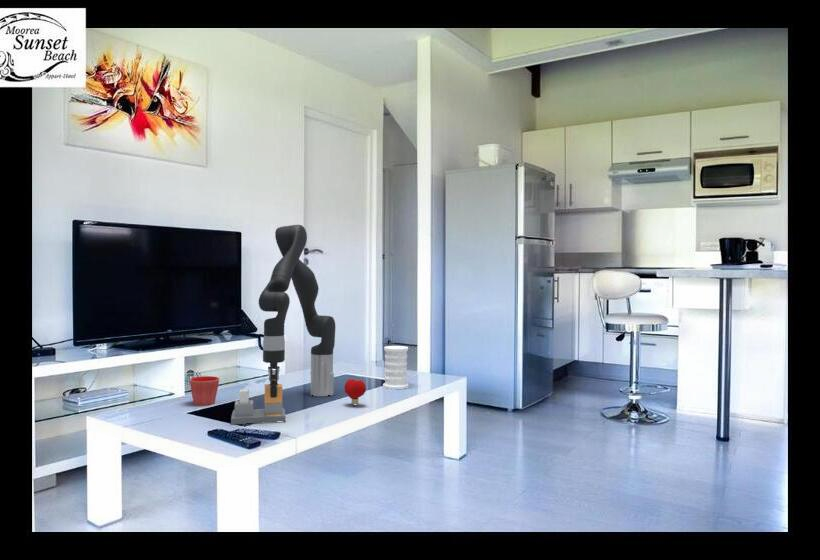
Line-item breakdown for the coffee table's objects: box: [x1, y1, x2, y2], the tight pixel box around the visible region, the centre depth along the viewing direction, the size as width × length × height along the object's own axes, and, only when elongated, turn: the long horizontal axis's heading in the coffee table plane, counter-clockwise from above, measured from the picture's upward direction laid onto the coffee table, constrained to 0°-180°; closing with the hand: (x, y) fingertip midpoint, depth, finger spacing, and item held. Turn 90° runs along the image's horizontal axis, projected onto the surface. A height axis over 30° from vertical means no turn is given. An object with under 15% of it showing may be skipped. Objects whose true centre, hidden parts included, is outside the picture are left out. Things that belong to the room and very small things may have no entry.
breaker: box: [238, 389, 250, 404], centre depth 206 cm, size 3×3×6 cm
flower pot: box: [189, 375, 220, 406], centre depth 230 cm, size 11×11×10 cm
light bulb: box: [344, 378, 367, 405], centre depth 229 cm, size 9×7×10 cm
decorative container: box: [382, 345, 409, 388], centre depth 266 cm, size 12×12×18 cm
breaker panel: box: [230, 399, 286, 425], centre depth 208 cm, size 18×12×6 cm, turn 103°
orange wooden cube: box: [264, 383, 283, 404], centre depth 209 cm, size 6×6×6 cm
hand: (273, 395), depth 209 cm, fingers open, 6 cm apart
